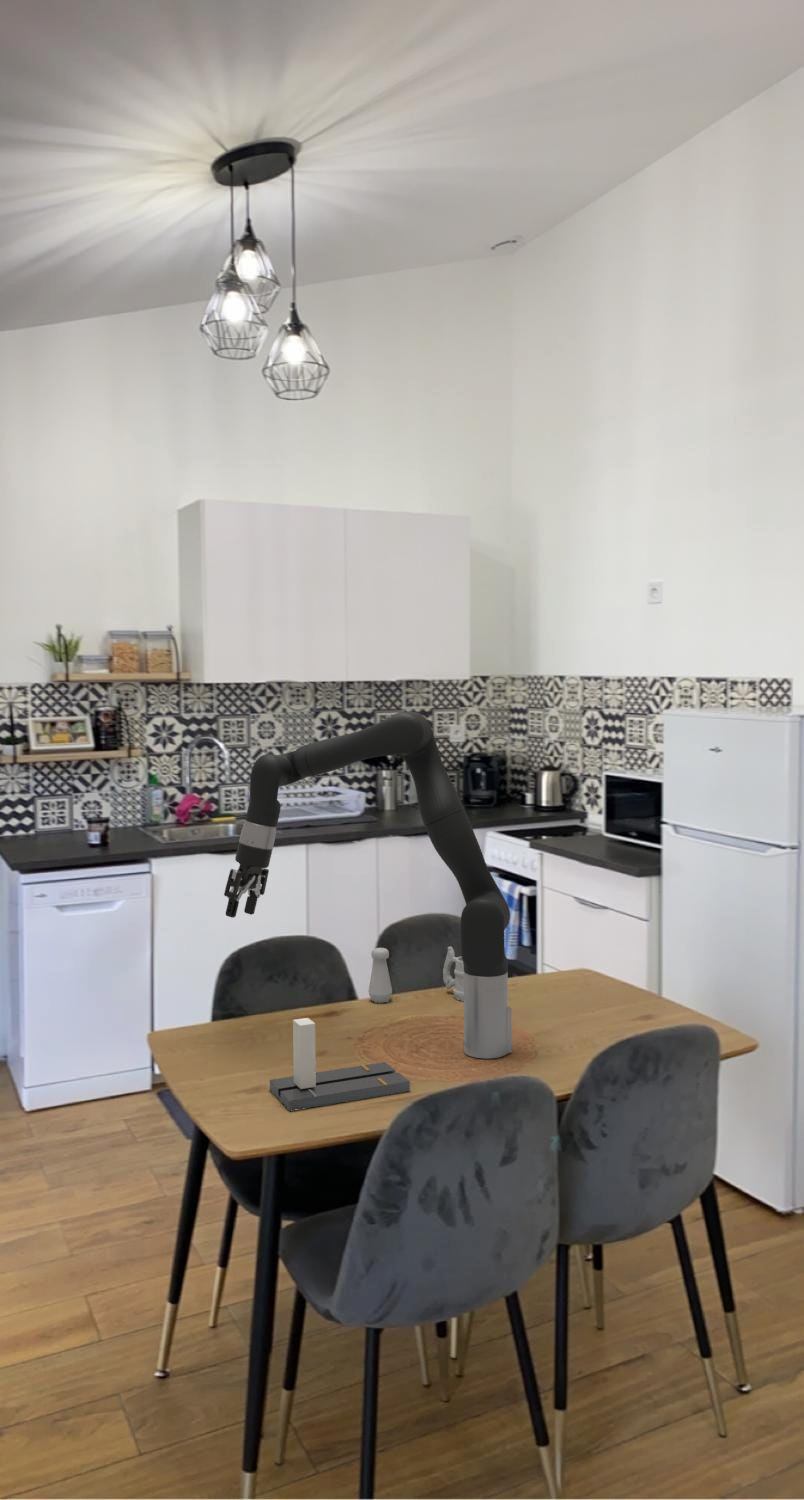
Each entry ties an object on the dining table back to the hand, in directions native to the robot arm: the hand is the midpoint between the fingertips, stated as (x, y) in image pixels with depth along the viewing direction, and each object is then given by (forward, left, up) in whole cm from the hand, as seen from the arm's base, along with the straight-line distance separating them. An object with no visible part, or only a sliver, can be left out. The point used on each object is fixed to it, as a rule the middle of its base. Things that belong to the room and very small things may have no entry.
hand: (239, 915), depth 244 cm
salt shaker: (-39, -13, -27) cm, 49 cm away
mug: (-59, -8, -27) cm, 65 cm away
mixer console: (-8, +40, -27) cm, 49 cm away
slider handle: (-1, +40, -26) cm, 48 cm away
